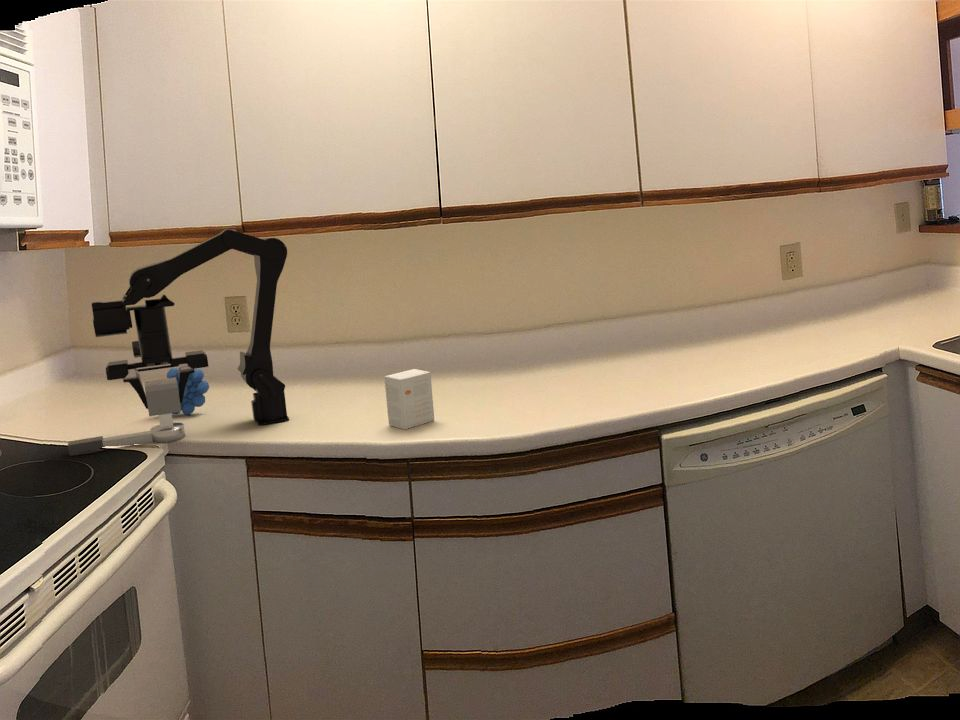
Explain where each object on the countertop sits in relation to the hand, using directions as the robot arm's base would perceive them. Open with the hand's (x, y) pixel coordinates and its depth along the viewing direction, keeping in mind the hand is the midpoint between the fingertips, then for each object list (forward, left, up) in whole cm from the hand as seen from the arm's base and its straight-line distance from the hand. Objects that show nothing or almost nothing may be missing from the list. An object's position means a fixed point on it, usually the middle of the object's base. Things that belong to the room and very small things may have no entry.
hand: (164, 405), depth 150 cm
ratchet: (+8, 0, -7) cm, 10 cm away
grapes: (-5, -19, -7) cm, 21 cm away
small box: (-46, +20, -7) cm, 51 cm away
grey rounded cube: (0, 0, -1) cm, 1 cm away
